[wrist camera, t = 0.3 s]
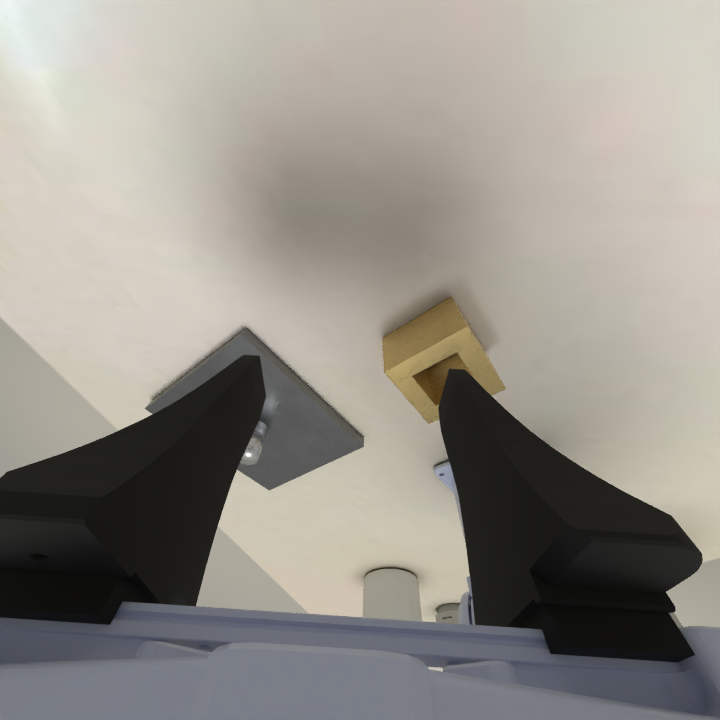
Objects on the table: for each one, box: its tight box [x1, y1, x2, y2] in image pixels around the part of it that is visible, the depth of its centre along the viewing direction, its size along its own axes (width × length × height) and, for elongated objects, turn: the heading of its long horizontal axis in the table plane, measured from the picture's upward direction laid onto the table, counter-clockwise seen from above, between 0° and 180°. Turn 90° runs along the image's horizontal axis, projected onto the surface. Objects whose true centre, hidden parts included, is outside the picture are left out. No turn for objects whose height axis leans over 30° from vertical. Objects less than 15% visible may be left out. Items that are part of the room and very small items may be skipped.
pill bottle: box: [363, 569, 422, 621], centre depth 39 cm, size 8×8×15 cm
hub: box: [382, 296, 506, 424], centre depth 20 cm, size 5×5×4 cm
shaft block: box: [145, 328, 364, 490], centre depth 25 cm, size 14×12×4 cm
